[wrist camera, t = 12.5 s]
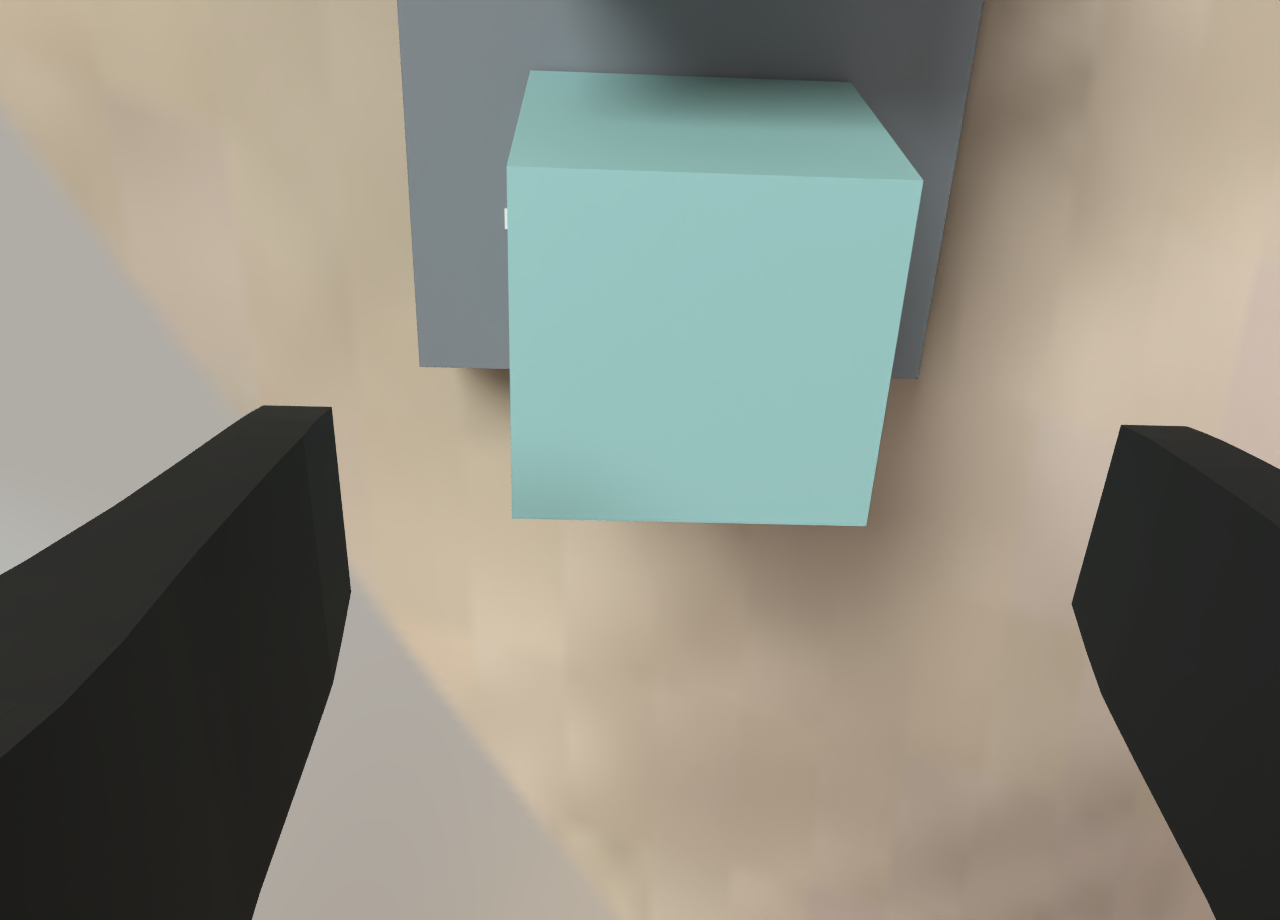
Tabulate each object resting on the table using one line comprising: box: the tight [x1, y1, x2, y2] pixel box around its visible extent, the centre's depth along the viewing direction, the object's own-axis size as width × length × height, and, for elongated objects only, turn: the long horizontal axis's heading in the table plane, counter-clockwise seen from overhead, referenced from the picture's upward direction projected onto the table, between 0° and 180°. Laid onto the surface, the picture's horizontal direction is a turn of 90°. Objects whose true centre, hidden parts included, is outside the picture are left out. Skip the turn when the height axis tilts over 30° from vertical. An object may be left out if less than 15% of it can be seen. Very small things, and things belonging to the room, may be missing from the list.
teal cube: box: [507, 70, 923, 526], centre depth 16 cm, size 4×4×4 cm
